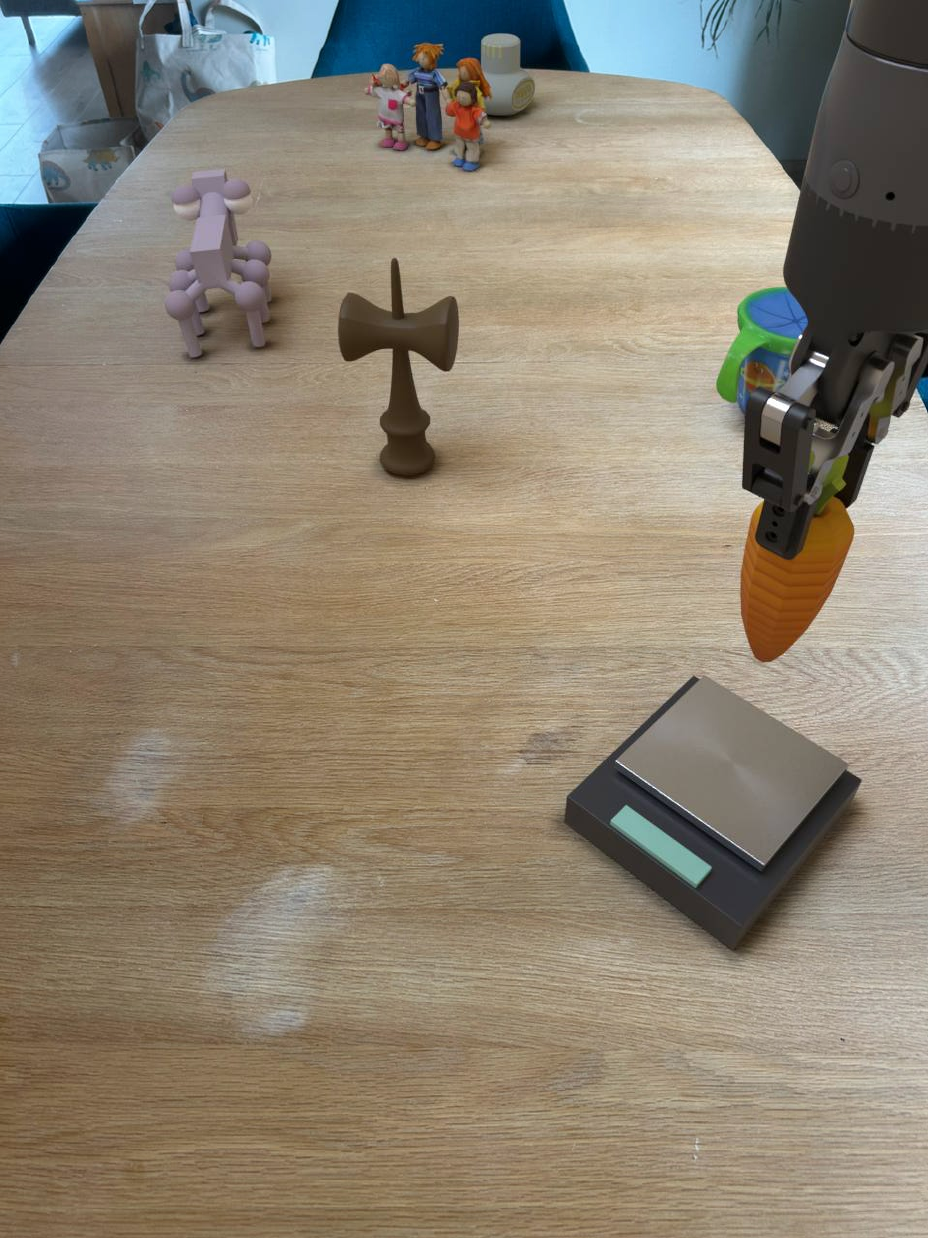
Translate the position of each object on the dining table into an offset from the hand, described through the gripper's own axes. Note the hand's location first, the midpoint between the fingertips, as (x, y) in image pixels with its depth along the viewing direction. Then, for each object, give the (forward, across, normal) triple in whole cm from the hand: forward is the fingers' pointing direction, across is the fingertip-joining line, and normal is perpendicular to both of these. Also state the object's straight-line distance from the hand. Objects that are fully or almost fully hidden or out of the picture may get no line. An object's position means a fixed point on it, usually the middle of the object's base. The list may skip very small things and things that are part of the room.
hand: (805, 522), depth 49 cm
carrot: (+11, 0, 0) cm, 11 cm away
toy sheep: (+24, +17, +77) cm, 83 cm away
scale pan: (+21, 0, 0) cm, 21 cm away
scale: (+24, -2, 0) cm, 24 cm away
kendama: (+24, +11, +42) cm, 50 cm away
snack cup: (+24, +42, +22) cm, 54 cm away
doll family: (+25, +67, +93) cm, 117 cm away
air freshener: (+25, +84, +97) cm, 131 cm away
